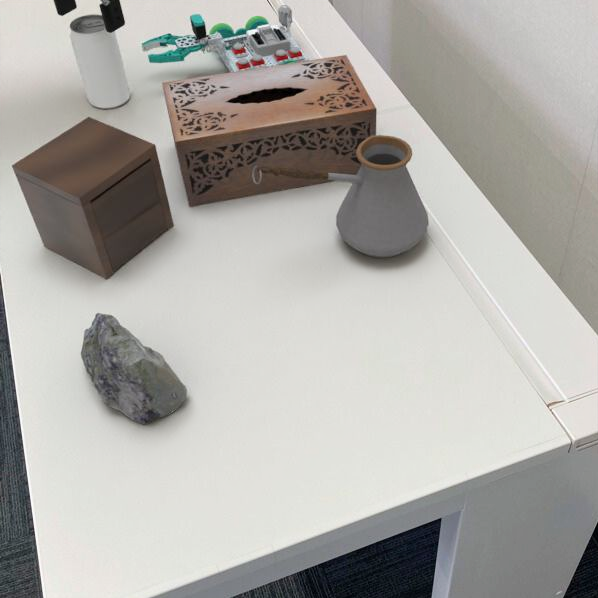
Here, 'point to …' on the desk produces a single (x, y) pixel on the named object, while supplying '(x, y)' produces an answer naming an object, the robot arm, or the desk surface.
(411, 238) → the coffee pot
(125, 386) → the mineral rock
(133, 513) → the desk surface
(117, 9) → the robot arm
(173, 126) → the tissue box cover
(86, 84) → the can
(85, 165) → the wooden drawer cube
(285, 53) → the robot kit
